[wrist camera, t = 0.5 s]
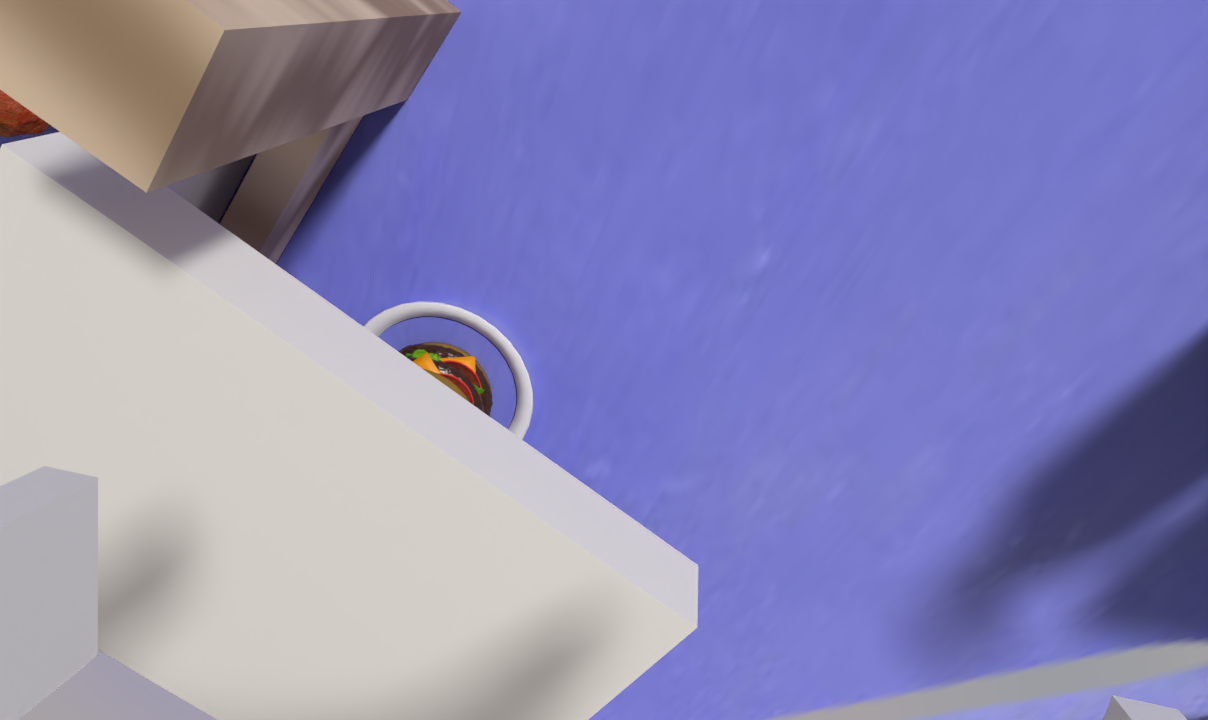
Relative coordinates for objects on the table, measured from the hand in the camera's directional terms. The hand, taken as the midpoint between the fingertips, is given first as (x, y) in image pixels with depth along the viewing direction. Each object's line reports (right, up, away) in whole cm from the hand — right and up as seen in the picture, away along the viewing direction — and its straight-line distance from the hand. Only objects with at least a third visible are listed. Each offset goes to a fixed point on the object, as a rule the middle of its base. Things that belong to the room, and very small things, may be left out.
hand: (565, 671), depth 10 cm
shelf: (-9, +2, +27) cm, 28 cm away
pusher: (-12, +12, +22) cm, 28 cm away
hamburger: (-7, +3, +27) cm, 28 cm away
